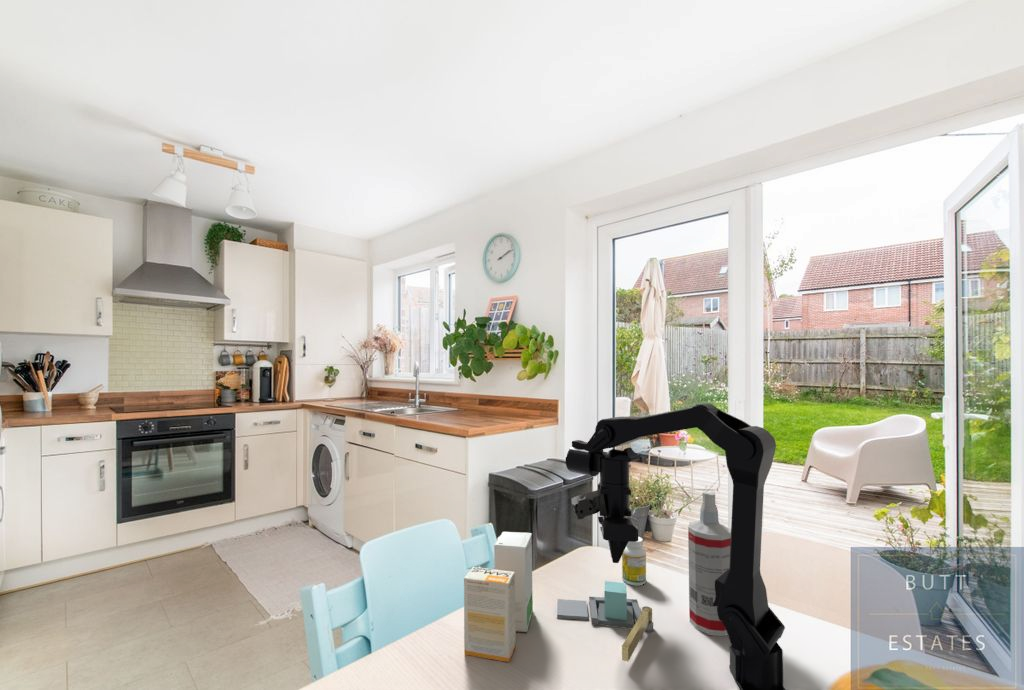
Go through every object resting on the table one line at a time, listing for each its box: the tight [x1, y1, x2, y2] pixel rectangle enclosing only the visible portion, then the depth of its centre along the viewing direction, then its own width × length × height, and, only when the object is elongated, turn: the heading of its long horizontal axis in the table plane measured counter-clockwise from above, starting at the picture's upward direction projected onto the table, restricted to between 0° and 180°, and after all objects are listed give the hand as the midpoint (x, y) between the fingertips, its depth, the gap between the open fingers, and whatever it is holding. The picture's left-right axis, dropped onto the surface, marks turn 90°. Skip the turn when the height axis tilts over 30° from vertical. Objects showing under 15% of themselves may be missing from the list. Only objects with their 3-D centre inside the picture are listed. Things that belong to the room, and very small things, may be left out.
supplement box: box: [463, 566, 517, 663], centre depth 78 cm, size 8×5×13 cm, turn 74°
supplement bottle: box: [621, 536, 647, 587], centre depth 104 cm, size 5×5×10 cm
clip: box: [621, 605, 653, 663], centre depth 79 cm, size 14×2×2 cm, turn 148°
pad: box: [556, 598, 589, 621], centre depth 91 cm, size 6×6×1 cm
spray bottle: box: [687, 491, 731, 637], centre depth 87 cm, size 8×8×25 cm
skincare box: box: [493, 531, 534, 633], centre depth 88 cm, size 8×7×16 cm
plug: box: [597, 580, 635, 630], centre depth 89 cm, size 7×7×6 cm
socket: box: [588, 596, 654, 633], centre depth 89 cm, size 12×9×1 cm
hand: (614, 560), depth 89 cm, fingers closed
